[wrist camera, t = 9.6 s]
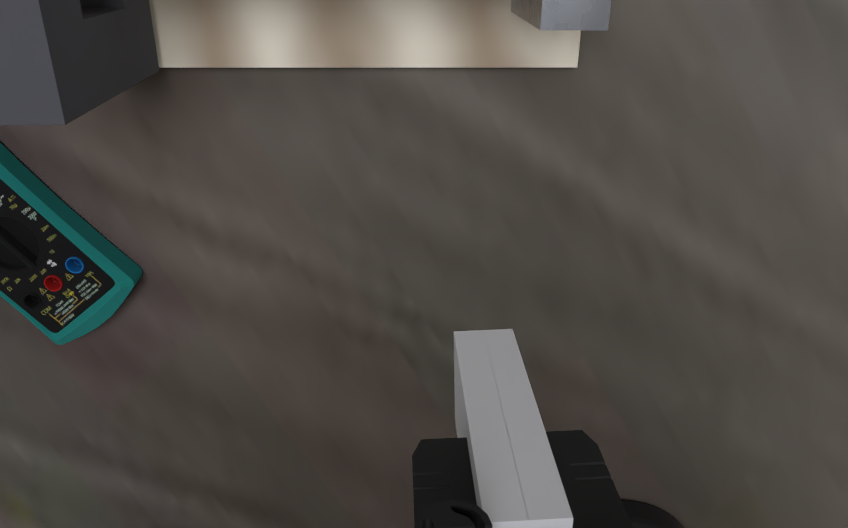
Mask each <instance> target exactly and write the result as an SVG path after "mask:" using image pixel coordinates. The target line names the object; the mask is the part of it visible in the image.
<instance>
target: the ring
mask: <svg viewBox="0 0 848 528" xmlns="http://www.w3.org/2000/svg"><path fill="white" fill-rule="evenodd" d="M158 71H160V70H159V64H158V57H157V50H156V44H155V37H154V31H153V24H152V18H151V11H150V5H149V0H0V125H66V124H67V123H69V122H71V121H73V120H74V119H76V118H78V117H80V116H81V115H83V114H85V113H87V112H88V111H90V110H92V109H94V108H95V107H97V106H99V105H101V104H102V103H104V102H106V101H108V100H109V99H111V98H113V97H115V96H116V95H118V94H120V93H122V92H123V91H125V90H127V89H129V88H130V87H132V86H134V85H136V84H137V83H139V82H141V81H143V80H144V79H146V78H148V77H150V76H151V75H153V74H155V73H157V72H158Z"/></svg>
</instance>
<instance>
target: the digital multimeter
mask: <svg viewBox="0 0 848 528" xmlns="http://www.w3.org/2000/svg"><path fill="white" fill-rule="evenodd" d="M4 182H5V183H6V184H7V185H6V184H5V183H4ZM12 189H13V190H14V191H15V192H16V193H15V192H14V191H13V190H12ZM21 197H22V198H23V199H24V200H25V201H24V200H23V199H22V198H21ZM30 205H31V206H32V207H33V208H34V209H33V208H32V207H31V206H30ZM39 213H40V214H41V215H42V216H43V217H42V216H41V215H40V214H39ZM48 221H49V222H50V223H51V224H52V225H51V224H50V223H49V222H48ZM57 229H58V230H59V231H60V232H59V231H58V230H57ZM66 237H67V238H68V239H69V240H68V239H67V238H66ZM75 245H76V246H77V247H78V248H77V247H76V246H75ZM42 251H43V253H42ZM94 262H95V263H96V264H95V263H94ZM35 266H36V267H35ZM103 270H104V271H105V272H104V271H103ZM141 276H142V269H141V268H140V267H139V266H138V265H137V264H136V263H134V262H133V261H132V260H131V259H130V258H128V257H127V256H126V255H125V254H124V253H122V252H121V251H120V250H119V249H117V248H116V247H115V246H114V245H113V244H111V243H110V242H109V241H108V240H107V239H105V238H104V237H103V236H102V235H101V234H100V233H98V232H97V231H96V230H95V229H94V228H93V227H92V226H90V225H89V224H88V223H87V222H86V221H85V220H83V219H82V218H81V217H80V216H79V215H78V214H77V213H75V212H74V211H73V210H72V209H71V208H70V207H68V206H67V205H66V204H65V203H64V202H63V201H62V200H61V199H59V198H58V197H57V196H56V195H55V194H54V193H53V192H52V191H51V190H50V189H49V188H48V187H47V186H46V185H44V184H43V183H42V182H41V181H40V180H39V179H38V178H37V177H36V176H35V175H34V174H33V173H31V172H30V171H29V170H28V169H27V168H26V167H25V166H24V165H23V164H22V163H21V162H20V161H19V160H18V159H17V158H16V157H15V156H14V155H13V154H12V153H11V152H10V151H8V150H7V149H6V148H5V147H4V146H3V145H2V144H1V143H0V296H1V297H2V298H4V299H5V300H6V301H7V302H8V303H10V304H11V305H12V306H13V307H14V308H16V309H17V310H18V311H19V312H20V313H22V314H23V315H24V316H25V317H26V318H27V319H28V320H29V321H31V322H32V323H33V324H34V325H35V326H36V327H37V328H38V329H39V330H41V331H42V332H43V333H44V334H45V335H46V336H47V337H48V338H49V339H51V340H52V341H53V342H54V343H56V344H59V345H63V344H65V343H67V342H70V341H72V340H74V339H76V338H79V337H81V336H83V335H85V334H87V333H88V332H90V331H92V330H94V329H96V328H97V327H99V326H100V325H101V324H102V323H104V322H105V321H106V320H107V319H109V318H110V317H111V316H112V315H113V314H114V312H115V311H116V310H117V309H118V308H119V307H120V305H121V304H122V303H123V301H124V300H125V299H126V297H127V296H128V295H129V293H130V292H131V290H132V289H133V287H134V286H135V285H136V283H137V282H138V280H139V279H140V277H141ZM92 304H93V305H92ZM86 309H87V310H86ZM69 323H70V324H69Z"/></svg>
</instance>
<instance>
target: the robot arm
mask: <svg viewBox="0 0 848 528" xmlns="http://www.w3.org/2000/svg"><path fill="white" fill-rule="evenodd" d="M454 385H455V424H456V431H457V438H444V439H424V440H421V441H420V443H419V444H418V446H417V448H416V450H415V452H414V453H413V455H412V461H413V489H414V517H415V528H683V526H682V525H681V524H680V523H679V522H678V521H677V520H676V519H675V518H674V517H672V516H671V515H670V514H668V513H666V512H665V511H663V510H661V509H659V508H656V507H654V506H651V505H648V504H644V503H640V502H635V501H626V500H621V499H620V497H619V495H618V492H617V490H616V487H615V485H614V483H613V480H612V479H611V476H610V473H609V471H608V469H607V466H606V465H605V461H604V459H603V457H602V454H601V452H600V450H599V447H598V445H597V444H596V443H595V442H594V441H593V440H592V439H591V438H590V437H589V436H588V435H586V434H585V433H584V432H583V431H582V430H574V431H554V432H545V429H544V425H543V422H542V419H541V416H540V413H539V410H538V407H537V404H536V401H535V398H534V394H533V391H532V388H531V385H530V382H529V379H528V376H527V373H526V370H525V367H524V363H523V360H522V357H521V354H520V351H519V348H518V345H517V342H516V339H515V335H514V332H513V329H498V330H476V331H455V332H454Z"/></svg>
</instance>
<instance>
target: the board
mask: <svg viewBox="0 0 848 528" xmlns="http://www.w3.org/2000/svg"><path fill="white" fill-rule="evenodd" d="M149 5H150V11H151V18H152V24H153V31H154V37H155V44H156V50H157V57H158V64H159V68H504V67H577V65H578V55H579V45H580V35H581V30H539V29H537V28H536V27H534V26H533V25H531V24H529V23H528V22H526V21H525V20H523V19H522V18H520V17H518V16H517V15H515V14H514V13H512V12H511V0H149Z"/></svg>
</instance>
